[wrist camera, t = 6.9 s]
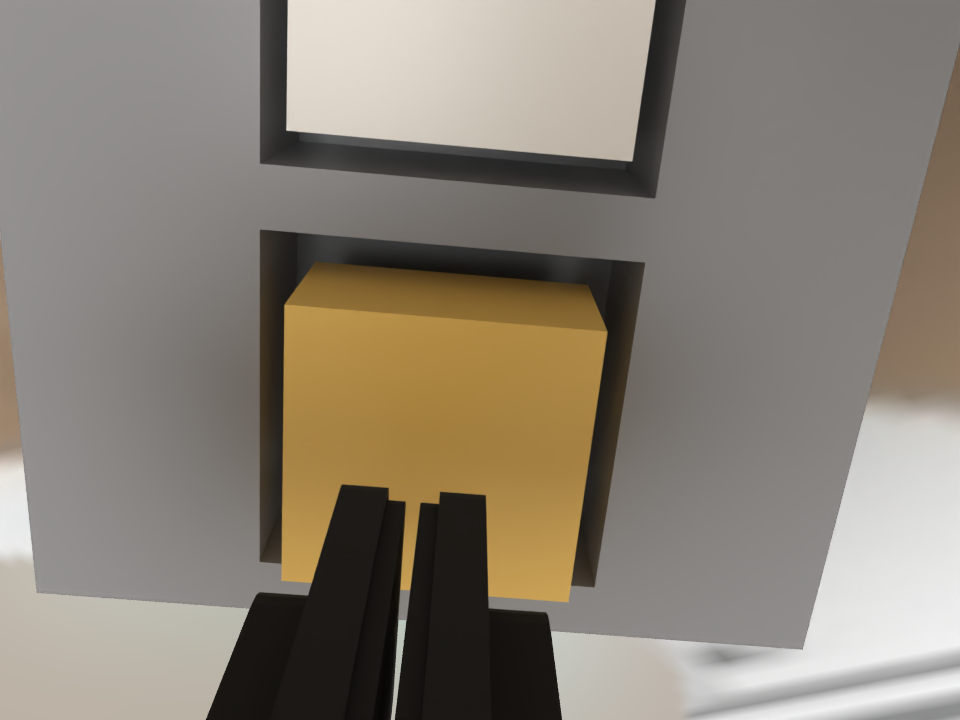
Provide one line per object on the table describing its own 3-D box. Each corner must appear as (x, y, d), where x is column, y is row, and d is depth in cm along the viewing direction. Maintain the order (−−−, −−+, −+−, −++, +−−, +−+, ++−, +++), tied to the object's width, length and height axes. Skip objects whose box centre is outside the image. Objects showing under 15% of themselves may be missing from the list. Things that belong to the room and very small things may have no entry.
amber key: (588, 284, 15) (607, 331, 13) (556, 521, 17) (569, 602, 14) (315, 261, 15) (284, 304, 12) (310, 502, 16) (281, 581, 14)
